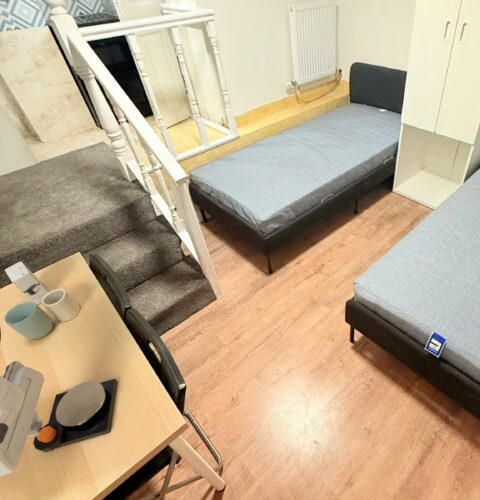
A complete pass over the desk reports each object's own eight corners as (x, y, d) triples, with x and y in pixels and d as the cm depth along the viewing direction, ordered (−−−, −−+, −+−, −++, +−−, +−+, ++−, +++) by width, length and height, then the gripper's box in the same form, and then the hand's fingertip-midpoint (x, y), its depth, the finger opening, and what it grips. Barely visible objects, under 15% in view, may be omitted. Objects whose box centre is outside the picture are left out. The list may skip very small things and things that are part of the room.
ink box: (27, 292, 111) (3, 269, 103) (43, 283, 114) (21, 260, 105) (36, 306, 107) (11, 282, 99) (53, 296, 110) (29, 273, 101)
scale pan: (51, 433, 76) (50, 432, 76) (63, 389, 84) (61, 388, 83) (101, 418, 78) (100, 418, 78) (108, 376, 86) (107, 375, 85)
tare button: (40, 444, 75) (35, 442, 74) (43, 431, 77) (39, 428, 76) (54, 440, 76) (50, 438, 74) (58, 426, 78) (53, 424, 77)
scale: (39, 457, 76) (29, 453, 74) (55, 398, 86) (47, 392, 83) (109, 436, 79) (102, 431, 76) (117, 381, 88) (111, 375, 86)
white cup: (55, 323, 102) (38, 308, 96) (60, 307, 106) (44, 291, 101) (77, 318, 103) (62, 302, 98) (82, 302, 108) (68, 286, 102)
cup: (49, 316, 104) (29, 296, 97) (61, 328, 101) (41, 309, 94) (22, 334, 100) (-1, 315, 93) (34, 348, 96) (10, 329, 89)
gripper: (-6, 361, 70) (36, 388, 80) (-53, 470, 56) (4, 487, 66) (27, 353, 71) (65, 381, 81) (-11, 457, 57) (40, 476, 67)
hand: (37, 429), depth 73 cm, fingers closed
